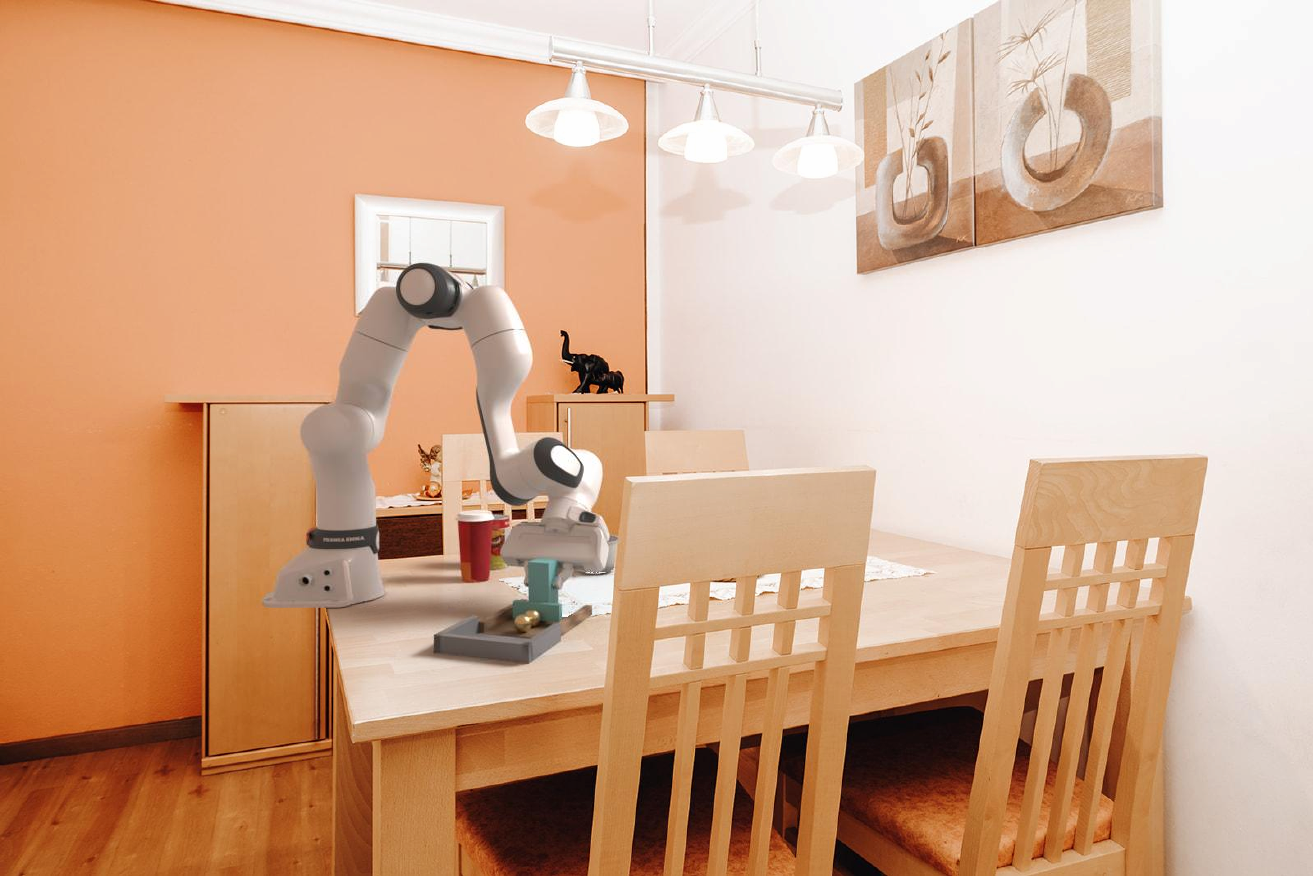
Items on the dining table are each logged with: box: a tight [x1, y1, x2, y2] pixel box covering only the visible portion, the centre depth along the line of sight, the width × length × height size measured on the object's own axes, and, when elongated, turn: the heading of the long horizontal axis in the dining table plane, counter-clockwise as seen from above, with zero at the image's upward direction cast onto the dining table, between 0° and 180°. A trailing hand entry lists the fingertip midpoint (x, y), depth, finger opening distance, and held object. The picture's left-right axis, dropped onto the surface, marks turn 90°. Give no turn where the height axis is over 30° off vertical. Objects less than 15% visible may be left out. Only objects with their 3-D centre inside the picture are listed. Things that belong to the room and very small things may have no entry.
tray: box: [433, 615, 562, 665], centre depth 124 cm, size 12×16×3 cm
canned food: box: [490, 514, 511, 571], centre depth 185 cm, size 8×8×12 cm
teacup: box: [582, 533, 619, 573], centre depth 181 cm, size 14×11×8 cm
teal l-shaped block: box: [512, 558, 563, 622], centre depth 138 cm, size 5×9×10 cm, turn 73°
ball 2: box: [525, 609, 541, 627], centre depth 135 cm, size 3×3×3 cm
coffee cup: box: [455, 509, 494, 583], centre depth 171 cm, size 8×8×15 cm
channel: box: [479, 599, 593, 639], centre depth 136 cm, size 17×14×2 cm
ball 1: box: [514, 614, 532, 632], centre depth 131 cm, size 3×3×3 cm
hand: (541, 586), depth 138 cm, fingers closed on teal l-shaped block, 4 cm apart
